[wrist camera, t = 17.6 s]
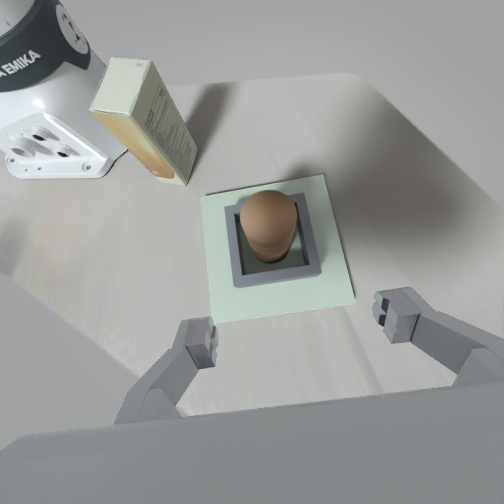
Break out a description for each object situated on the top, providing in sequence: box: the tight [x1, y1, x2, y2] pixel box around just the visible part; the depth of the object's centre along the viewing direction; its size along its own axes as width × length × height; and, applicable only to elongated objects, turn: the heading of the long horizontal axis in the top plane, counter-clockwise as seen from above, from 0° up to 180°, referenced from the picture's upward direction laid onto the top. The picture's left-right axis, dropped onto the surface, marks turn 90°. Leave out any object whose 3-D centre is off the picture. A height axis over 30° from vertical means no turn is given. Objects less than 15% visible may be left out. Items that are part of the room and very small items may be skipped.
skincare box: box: [89, 57, 198, 186], centre depth 25 cm, size 6×4×12 cm
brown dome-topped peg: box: [240, 190, 297, 264], centre depth 21 cm, size 4×4×9 cm
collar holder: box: [200, 174, 356, 324], centre depth 25 cm, size 16×16×4 cm
